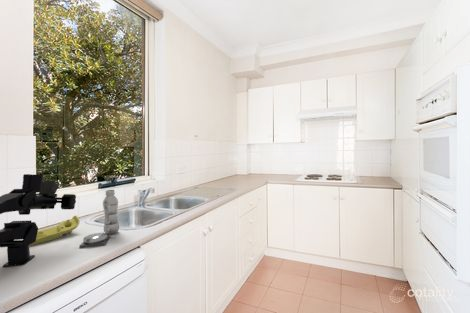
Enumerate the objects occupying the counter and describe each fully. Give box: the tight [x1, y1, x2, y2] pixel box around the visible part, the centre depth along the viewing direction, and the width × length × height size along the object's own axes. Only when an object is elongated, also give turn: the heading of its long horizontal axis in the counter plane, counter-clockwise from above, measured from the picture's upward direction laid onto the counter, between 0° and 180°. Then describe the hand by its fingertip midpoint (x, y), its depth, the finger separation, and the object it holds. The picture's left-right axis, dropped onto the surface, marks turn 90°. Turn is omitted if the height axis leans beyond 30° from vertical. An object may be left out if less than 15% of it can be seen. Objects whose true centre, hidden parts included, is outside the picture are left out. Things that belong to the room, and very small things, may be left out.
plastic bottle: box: [102, 189, 120, 235], centre depth 111 cm, size 6×7×20 cm
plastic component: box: [29, 215, 80, 246], centre depth 109 cm, size 20×7×10 cm
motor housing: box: [79, 232, 111, 249], centre depth 101 cm, size 9×9×2 cm
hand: (65, 201), depth 109 cm, fingers open, 9 cm apart
